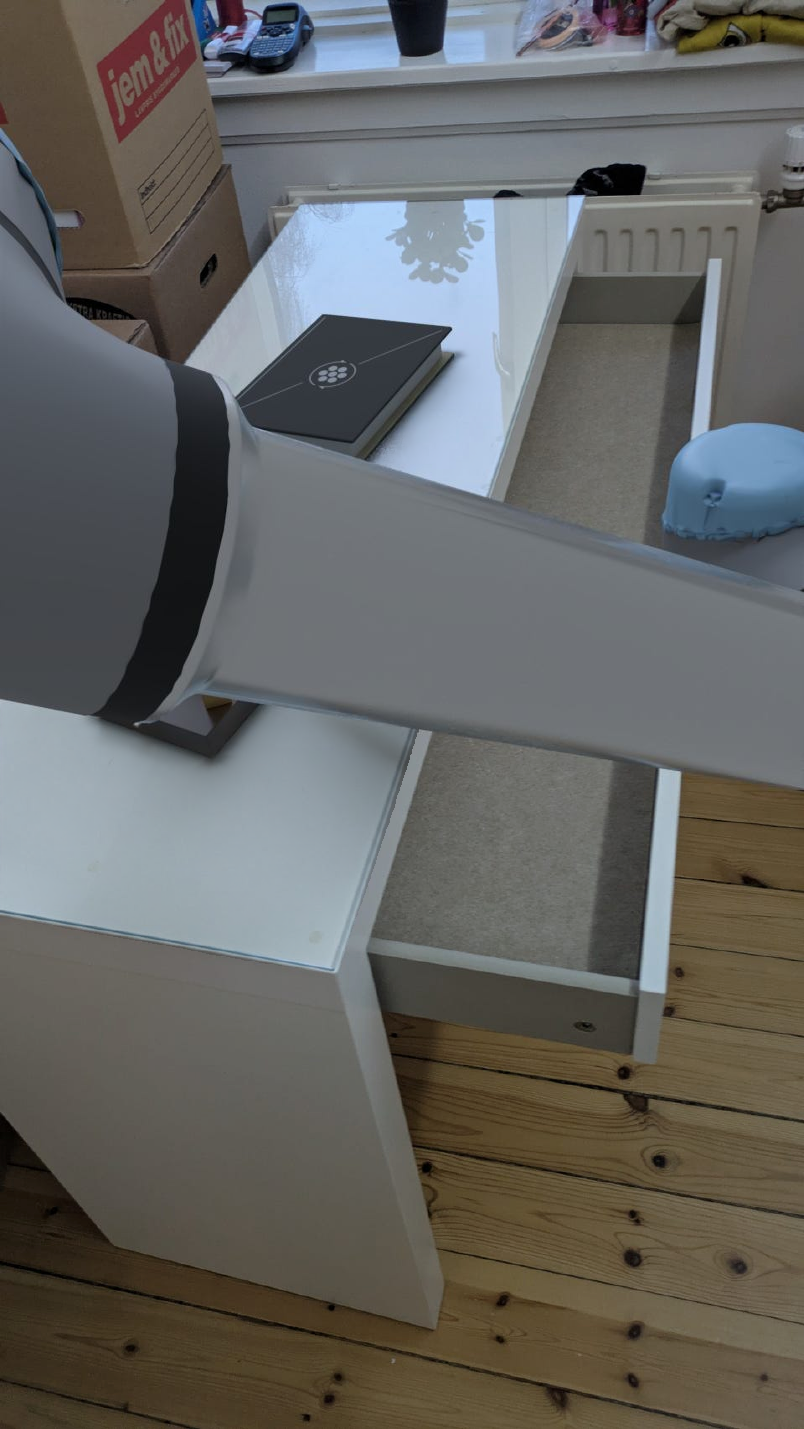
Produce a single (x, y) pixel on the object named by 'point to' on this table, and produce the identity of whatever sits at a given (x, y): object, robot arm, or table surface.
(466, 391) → the table surface
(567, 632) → the robot arm
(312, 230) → the table surface
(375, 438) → the book
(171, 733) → the lock plate
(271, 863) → the table surface
